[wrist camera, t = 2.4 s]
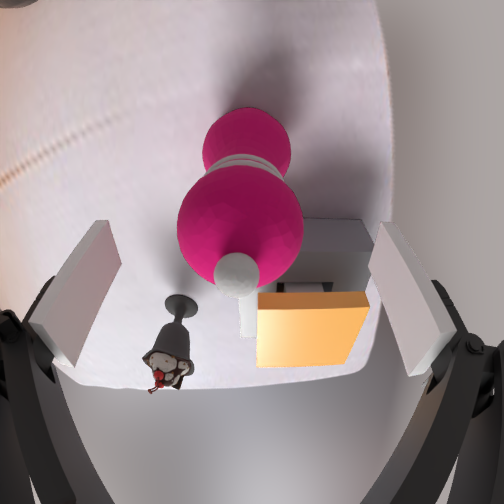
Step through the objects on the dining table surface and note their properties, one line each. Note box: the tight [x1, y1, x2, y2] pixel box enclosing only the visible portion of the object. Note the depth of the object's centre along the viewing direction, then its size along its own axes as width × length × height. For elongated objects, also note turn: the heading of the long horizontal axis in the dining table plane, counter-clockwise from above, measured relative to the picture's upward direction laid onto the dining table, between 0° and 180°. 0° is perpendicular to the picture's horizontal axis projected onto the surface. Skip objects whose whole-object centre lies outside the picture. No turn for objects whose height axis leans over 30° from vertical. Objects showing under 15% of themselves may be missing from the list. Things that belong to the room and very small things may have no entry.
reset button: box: [256, 282, 370, 367], centre depth 30 cm, size 10×10×7 cm
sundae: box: [142, 295, 198, 394], centre depth 35 cm, size 7×7×15 cm
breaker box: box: [239, 218, 374, 338], centre depth 34 cm, size 14×14×6 cm
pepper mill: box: [177, 107, 304, 298], centre depth 18 cm, size 7×7×20 cm
